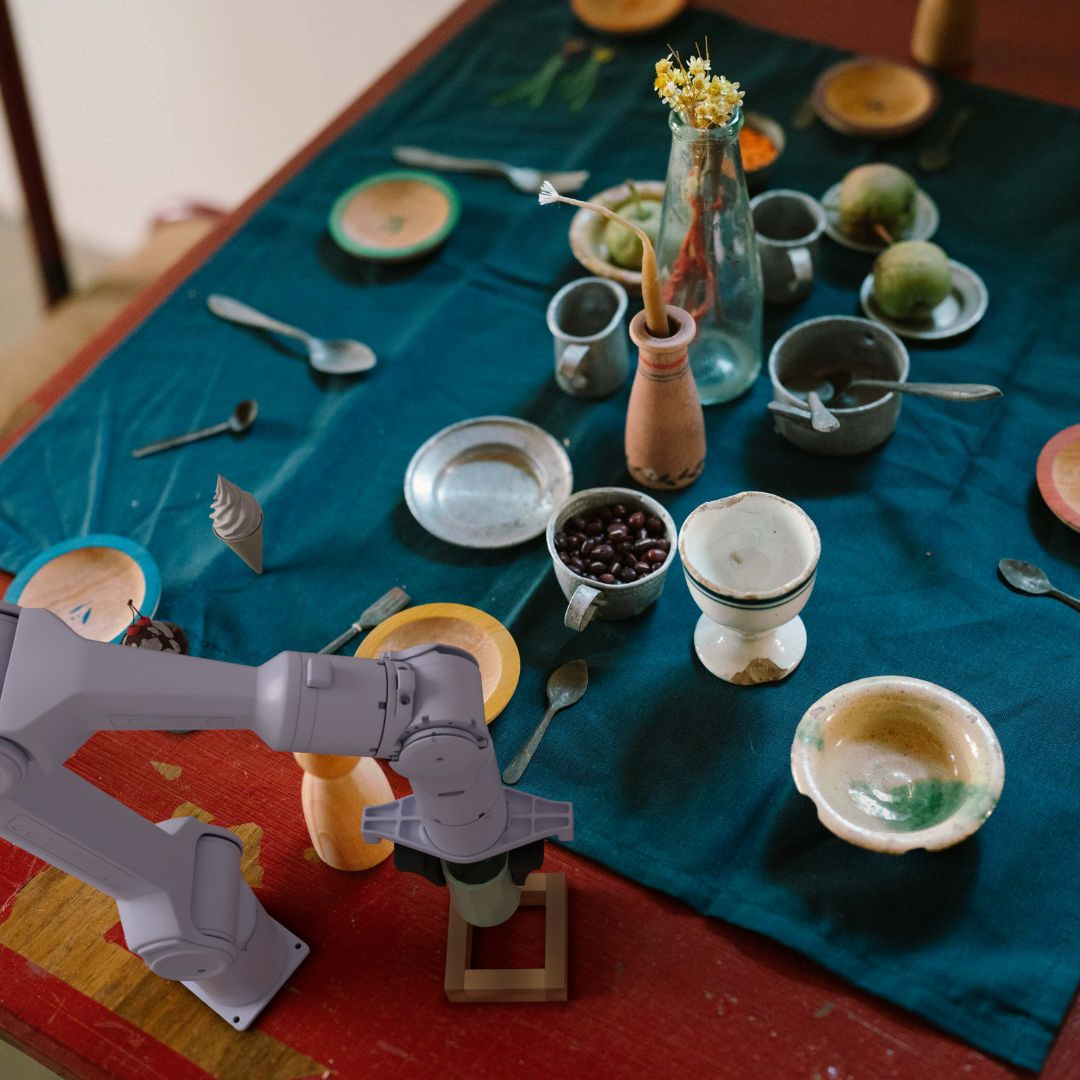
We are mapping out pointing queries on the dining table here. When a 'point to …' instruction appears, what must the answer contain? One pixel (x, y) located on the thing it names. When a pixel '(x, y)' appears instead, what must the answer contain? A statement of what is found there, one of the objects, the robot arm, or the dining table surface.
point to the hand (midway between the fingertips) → (482, 873)
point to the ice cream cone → (238, 522)
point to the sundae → (156, 638)
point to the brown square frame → (513, 981)
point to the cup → (483, 889)
